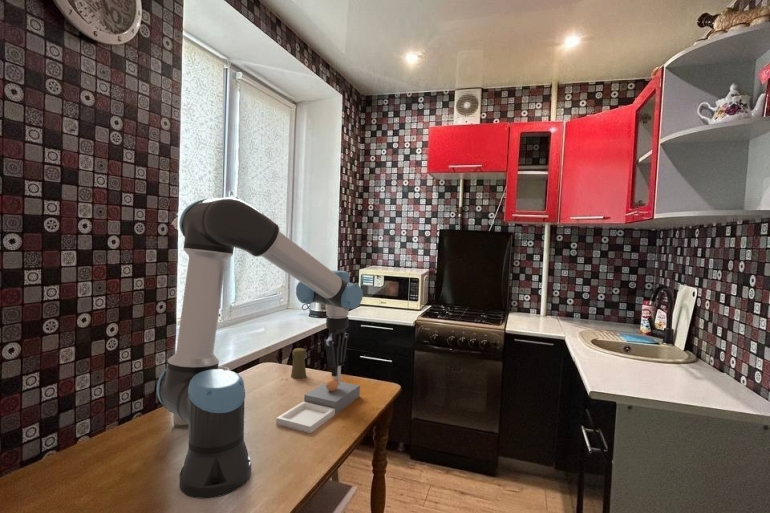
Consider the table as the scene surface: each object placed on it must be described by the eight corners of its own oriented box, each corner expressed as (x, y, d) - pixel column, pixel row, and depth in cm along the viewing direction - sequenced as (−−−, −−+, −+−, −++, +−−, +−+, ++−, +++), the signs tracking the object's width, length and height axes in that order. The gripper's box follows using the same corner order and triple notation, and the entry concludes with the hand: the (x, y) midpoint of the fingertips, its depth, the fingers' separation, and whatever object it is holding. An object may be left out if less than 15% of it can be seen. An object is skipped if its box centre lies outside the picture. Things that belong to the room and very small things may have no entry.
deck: (335, 414, 127) (336, 401, 126) (304, 406, 131) (304, 394, 131) (359, 396, 141) (359, 385, 141) (330, 390, 146) (330, 379, 146)
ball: (340, 389, 136) (333, 394, 133) (329, 387, 138) (323, 391, 134) (340, 378, 136) (334, 382, 133) (330, 376, 138) (323, 380, 134)
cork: (309, 375, 161) (310, 348, 161) (298, 379, 156) (299, 351, 155) (298, 372, 164) (299, 345, 164) (287, 376, 159) (288, 349, 159)
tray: (310, 433, 114) (310, 426, 114) (276, 424, 119) (276, 417, 119) (335, 414, 126) (335, 408, 126) (303, 407, 131) (303, 401, 131)
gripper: (337, 320, 129) (335, 392, 130) (356, 314, 141) (354, 380, 142) (317, 318, 132) (316, 388, 133) (337, 312, 144) (336, 376, 145)
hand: (335, 384), depth 138 cm, fingers closed
